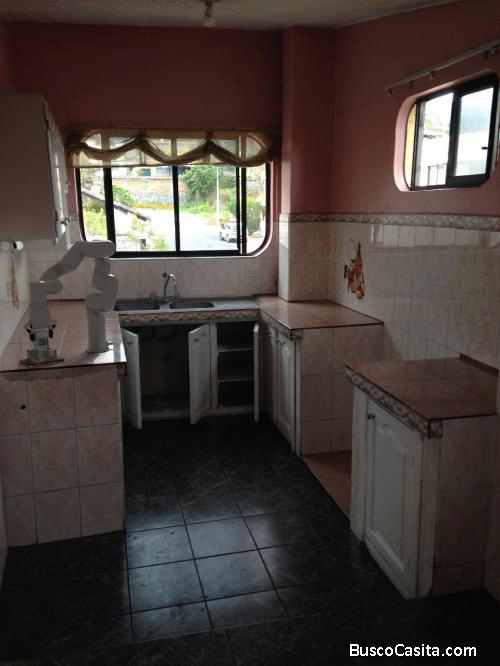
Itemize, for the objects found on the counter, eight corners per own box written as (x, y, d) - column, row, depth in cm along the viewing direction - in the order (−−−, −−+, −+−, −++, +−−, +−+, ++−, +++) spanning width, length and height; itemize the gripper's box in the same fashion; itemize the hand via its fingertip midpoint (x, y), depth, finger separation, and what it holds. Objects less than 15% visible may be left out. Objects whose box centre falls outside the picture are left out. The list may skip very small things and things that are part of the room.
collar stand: (53, 357, 310) (52, 344, 309) (64, 361, 302) (63, 348, 301) (19, 362, 298) (18, 350, 296) (30, 367, 290) (29, 354, 288)
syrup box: (38, 361, 296) (36, 332, 293) (34, 358, 300) (32, 330, 297) (49, 359, 299) (48, 331, 296) (45, 357, 304) (43, 329, 301)
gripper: (51, 302, 303) (54, 335, 307) (18, 307, 291) (21, 341, 295) (59, 304, 298) (61, 338, 301) (25, 309, 286) (28, 343, 289)
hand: (41, 339), depth 298 cm, fingers open, 9 cm apart
